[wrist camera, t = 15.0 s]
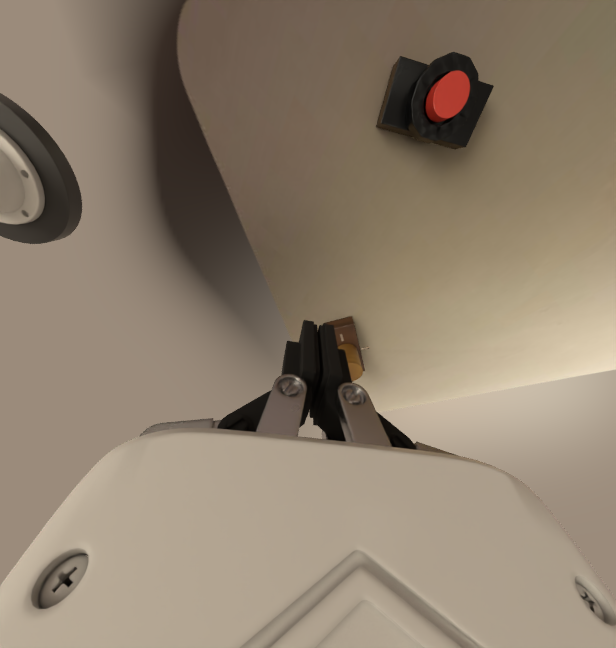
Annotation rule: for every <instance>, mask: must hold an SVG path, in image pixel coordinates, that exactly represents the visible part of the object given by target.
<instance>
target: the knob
mask: <svg viewBox="0 0 616 648" xmlns="http://www.w3.org/2000/svg"><path fill="white" fill-rule="evenodd" d="M338 349H344V350H345V353H346V357H347V362H348V366H349V371H350V376H351V380H352V381H354V380H357V379H358V378H360V377H361V375H362V373H363V369H362V366H361V362H360V358H359V355H358V351H357V348H356V347H355V346H354V345H352V344H342V345H340V346H338Z"/></svg>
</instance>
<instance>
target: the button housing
mask: <svg viewBox="0 0 616 648" xmlns="http://www.w3.org/2000/svg"><path fill="white" fill-rule="evenodd" d="M452 71H462V72H464V73H465V74H466V75H467V77H468V79H469V82H470V92H469V96H468V99H467V101H466V103H465V105H464V107H463V108H462V109H461V111H460V112H459V113H458V114H456V115H455V116H453V117H451V118H449V119H447V120H444V121H442V122H434V121H432V120H430V119H429V117H428V116H427V113H426V99H427V96H428V93H429V91H430V90H431V88H432V87H433V85H434V84H435V83H436V82H438V81H439V80H440V79H441V78H443V77H444V76H445V75H447V74H448V73H450V72H452ZM493 87H494V86H493V85H490V84H486V83H483V82H480V81H478V72H477V70H476V68H475V66H474V65H473V63H472V61H471V59H470V58H469V57H468V56H465V55H462V54H458V53H455V52H451V53H449V54H447V55H445V56H442V57H440V58H438V59H435V60H434V61H433V62H432V63H431V64H430V65H427V64H424V63H420V62H417V61H414V60H411V59H408V58H405V57H402V56H400V57H399V59H398V60H397V62H396V63H395V64H394V66H393V69H392V72H391V76H390V79H389V83H388V86H387V90H386V94H385V97H384V101H383V104H382V108H381V111H380V115H379V118H378V122H377V125H376V127H378V128H382V129H385V130H389V131H392V132H396V133H399V134H403V135H406V136H410V137H413V138H414V139H416V140H419V141H422V142H426V143H435V144H438V145H442V146H445V147H449V148H452V149H459V148H463V147H466V145H467V143H468V141H469V139H470V137H471V134H472V132H473V130H474V128H475V126H476V124H477V121H478V119H479V117H480V115H481V113H482V111H483V108H484V106H485V104H486V102H487V100H488V97H489V95H490V93H491V91H492V89H493Z"/></svg>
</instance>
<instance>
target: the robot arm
mask: <svg viewBox="0 0 616 648" xmlns="http://www.w3.org/2000/svg"><path fill="white" fill-rule="evenodd" d="M44 206H45V195H44V189H43V186H42V183H41V180H40V177H39V175H38V173H37V172H36V170H35V168H34V166H33V164H32V163H31V161H30V160H29V158H28V157H27V156H26V154H25V153H24V152H23V151H22V149H21V148H20V147H19V146H18V145H17V144H16V143H15V142H14V141H13V140H12V139H11V138H10V137H9V136H8V135H7V134H6V133H5V132H4V131H2V130H1V129H0V222H2V223H7V224H24V223H29V222H32V221H34V220H36V219H37V218H39V216H40V215H41V214H42V212H43V209H44ZM309 409H310V418H313V425H318V426H319V427H320V428H321V429H322V430H323V431H322V439H316V438H307V437H298V431H299V428H300V427H301V426H302V425H303V424H304V423H305V420H306V417H307V415H308V412H309ZM85 555H87V556H88V557H87V556H85ZM0 648H616V599H615V597H614V596H613V594H612V593H611V591H610V590H609V589H608V587H607V586H606V584H605V583H604V582H603V580H602V579H601V577H600V576H599V575H598V573H597V572H596V571H595V569H594V568H593V566H592V565H591V564H590V563H589V561H588V560H587V558H586V557H585V556H584V554H583V553H582V552H581V550H580V549H579V547H578V546H577V545H576V543H575V542H574V541H573V539H572V538H571V537H570V535H569V534H568V533H567V532H566V531H565V529H564V528H563V526H562V525H561V524H560V522H559V521H558V520H557V519H556V518H555V516H554V515H553V514H552V512H551V511H550V510H549V509H548V508H547V506H546V505H545V504H544V503H543V502H542V500H541V499H540V498H539V497H538V496H537V495H536V494H535V493H534V492H533V491H532V490H531V489H530V488H529V487H527V486H526V485H525V484H524V483H523V482H522V481H520V480H518V479H517V478H515V477H514V476H512V475H510V474H509V473H507V472H505V471H503V470H500V469H498V468H496V467H494V466H492V465H489V464H486V463H483V462H480V461H477V460H473V459H469V458H465V457H461V456H458V455H454V454H452V453H449V452H445V451H443V450H440V449H437V448H434V447H431V446H428V445H425V444H422V443H419V442H416V443H415V444H414V443H413V442H412V441H411V440H410V439H409V438H408V437H407V436H406V435H405V434H403V433H402V432H401V431H399V430H398V429H397V428H396V427H395V426H393V425H392V424H391V423H390V422H389V421H387V420H386V419H385V418H383V417H382V416H381V415H380V414H379V413H378V412H376V410H375V408H374V406H373V404H372V401H371V399H370V397H369V395H368V393H367V392H366V390H365V389H364V388H363V387H361V386H359V385H358V384H355V383H352V380H351V376H350V371H349V366H348V362H347V357H346V353H345V350H344V349H338V346H337V341H336V335H335V330H334V325H331V324H325V323H324V324H323V326H321V325H320V326H319V329H318V332H317V325H315V324H314V322H313V321H307V320H304V321H303V326H302V330H301V335H300V340H299V343H298V342H291V341H287V344H286V350H285V355H284V361H283V368H282V376H279V377H278V378H277V379H276V380H275V382H274V385H273V387H272V390H271V391H269V392H267V393H265V394H264V395H262V396H260V397H258V398H257V399H255V400H253V401H251V402H250V403H248V404H246V405H244V406H243V407H241V408H240V409H237V410H236V411H234V412H232V413H230V414H229V415H227V416H226V417H225V418H223V419H222V420H218V421H213V418H212V419H200V420H190V421H179V422H167V423H160V424H156V425H153V426H151V427H149V428H147V429H146V430H145V431H144V432H143V433H142V434H141V435H140V436H139V437H137V438H135V439H132V440H129V441H127V442H125V443H123V444H121V445H119V446H117V447H116V448H114V449H113V450H112V451H110V452H109V453H108V454H107V455H105V456H104V457H103V458H102V459H101V460H100V461H99V462H98V463H97V464H96V465H95V466H94V467H93V468H92V469H91V470H90V471H89V472H88V473H87V474H86V476H85V477H84V478H83V479H82V480H81V481H80V482H79V484H78V485H77V486H76V487H75V488H74V490H73V491H72V492H71V493H70V495H69V496H68V497H67V498H66V499H65V501H64V502H63V503H62V504H61V506H60V507H59V508H58V509H57V511H56V512H55V513H54V514H53V516H52V517H51V518H50V520H49V521H48V522H47V524H46V525H45V526H44V528H43V529H42V530H41V532H40V533H39V535H38V536H37V537H36V539H35V540H34V541H33V542H32V544H31V545H30V546H29V548H28V549H27V550H26V552H25V553H24V554H23V556H22V557H21V559H20V560H19V561H18V562H17V564H16V565H15V566H14V568H13V569H12V570H11V572H10V573H9V574H8V576H7V577H6V578H5V580H4V581H3V583H2V584H1V585H0Z"/></svg>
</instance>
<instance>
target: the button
mask: <svg viewBox="0 0 616 648" xmlns="http://www.w3.org/2000/svg"><path fill="white" fill-rule="evenodd" d="M469 92H470V82H469V79H468V77H467V75H466V74H465V73H464V72H462V71H452V72H450V73H448V74H447V75H445V76H444V77H443V78H441V79H440V80H439V81H438V82H436V83H435V84H434V85H433V87H432V88H431V90H430V91H429V93H428V96H427V99H426V113H427V116H428V117H429V119H430V120H432V121H434V122H442V121H444V120H447V119H449V118H451V117H453V116H455V115H456V114H458V113H459V112H460V111H461V109H462V108H463V107H464V105H465V103H466V101H467V99H468V96H469Z"/></svg>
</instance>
